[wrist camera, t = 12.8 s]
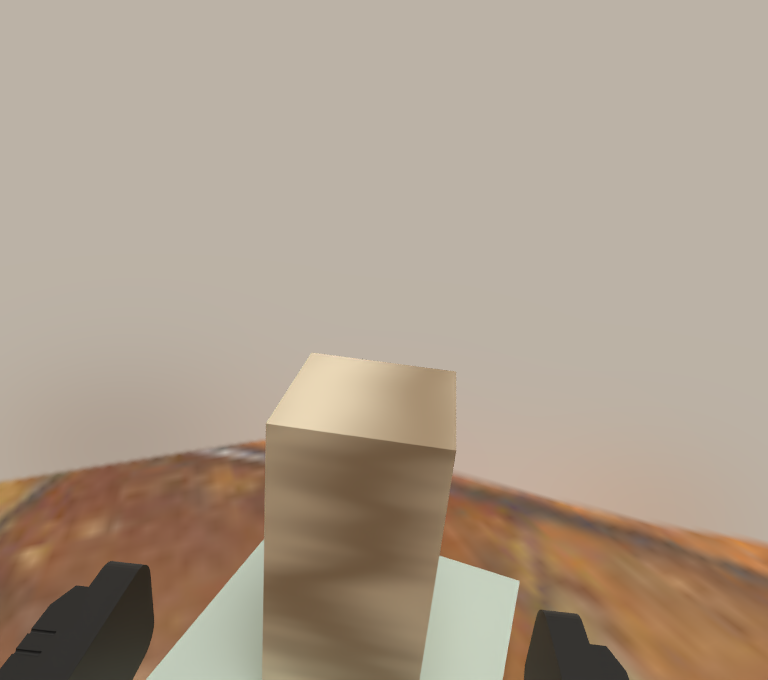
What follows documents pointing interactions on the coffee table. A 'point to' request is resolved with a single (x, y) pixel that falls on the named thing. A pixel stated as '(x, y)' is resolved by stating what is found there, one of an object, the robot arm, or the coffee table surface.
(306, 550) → the maple pillar block
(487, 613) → the sage base block
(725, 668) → the coffee table surface
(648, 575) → the coffee table surface
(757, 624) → the coffee table surface
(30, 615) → the coffee table surface
